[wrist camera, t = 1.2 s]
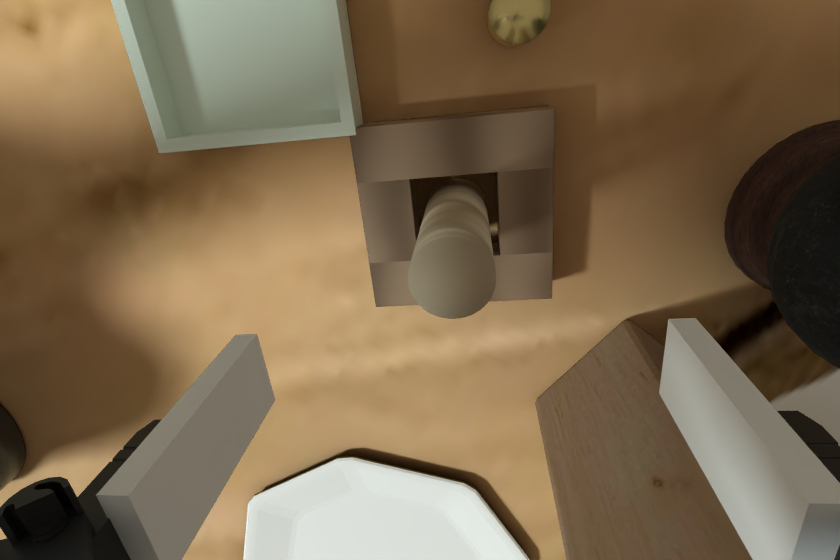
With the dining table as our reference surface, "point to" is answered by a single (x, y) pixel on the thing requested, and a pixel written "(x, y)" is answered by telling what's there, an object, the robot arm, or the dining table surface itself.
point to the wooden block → (627, 462)
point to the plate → (374, 517)
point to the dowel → (453, 252)
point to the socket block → (448, 156)
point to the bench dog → (517, 20)
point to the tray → (241, 70)
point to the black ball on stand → (794, 233)
